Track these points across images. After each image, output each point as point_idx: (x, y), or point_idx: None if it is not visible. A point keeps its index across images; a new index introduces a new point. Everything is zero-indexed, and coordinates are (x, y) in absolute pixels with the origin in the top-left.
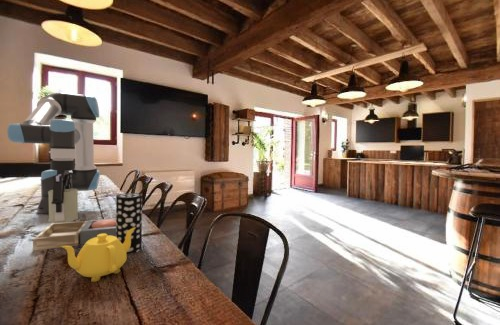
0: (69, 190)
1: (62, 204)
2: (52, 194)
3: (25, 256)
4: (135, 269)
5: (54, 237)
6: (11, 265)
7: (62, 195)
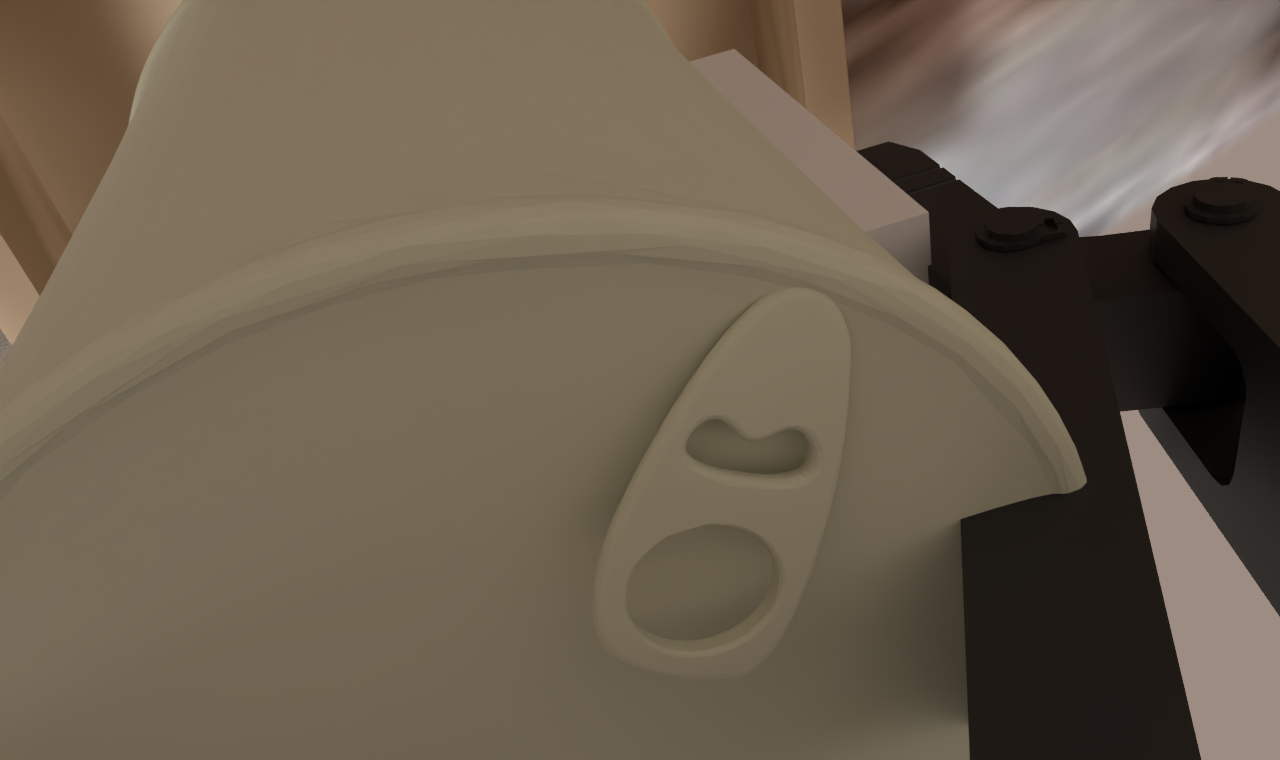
0: (753, 478)
1: (915, 223)
2: None
3: (961, 173)
4: None
5: (838, 23)
6: (1152, 152)
7: (1108, 385)
